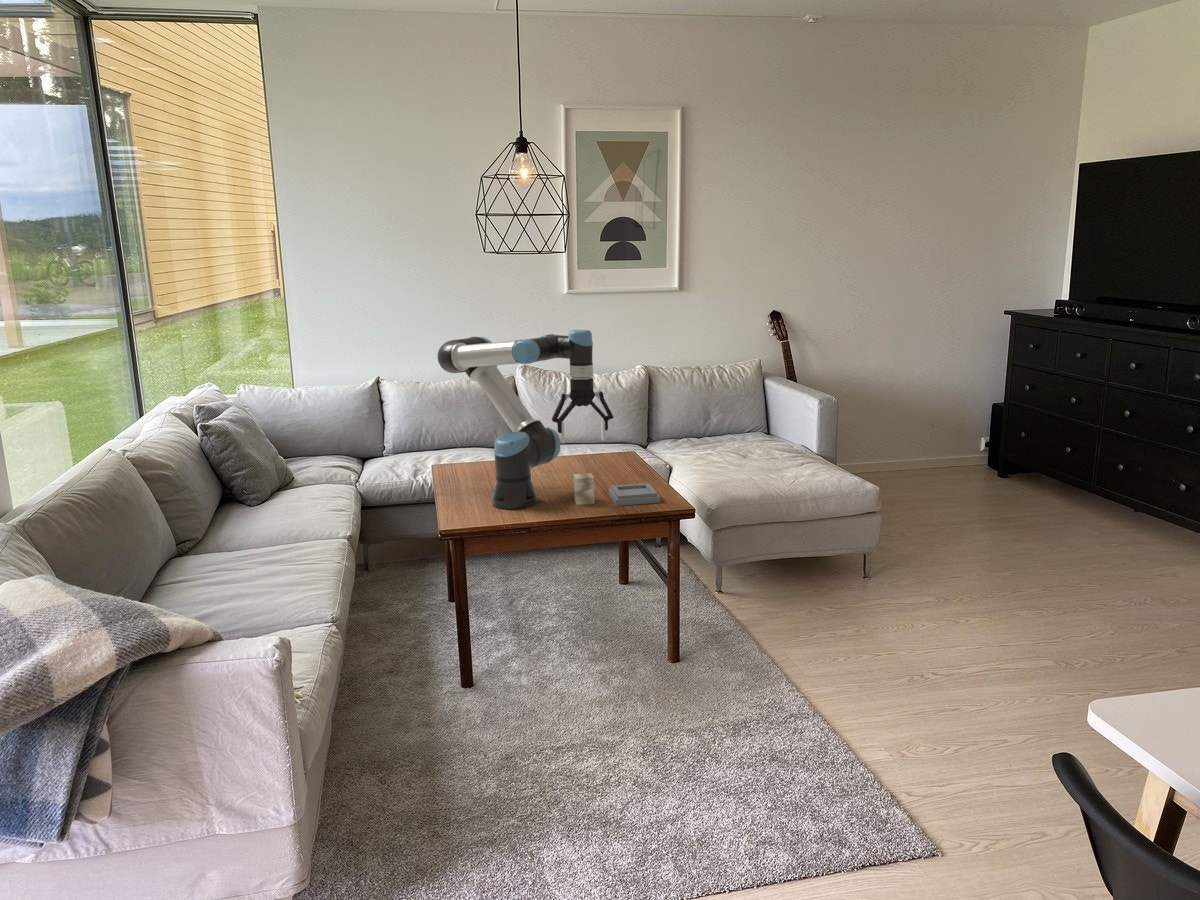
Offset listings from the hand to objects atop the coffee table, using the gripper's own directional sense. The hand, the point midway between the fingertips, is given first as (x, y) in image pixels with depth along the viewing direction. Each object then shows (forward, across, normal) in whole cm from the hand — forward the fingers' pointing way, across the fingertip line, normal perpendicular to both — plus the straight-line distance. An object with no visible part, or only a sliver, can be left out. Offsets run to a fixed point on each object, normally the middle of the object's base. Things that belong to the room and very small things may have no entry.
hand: (583, 441), depth 290 cm
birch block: (+21, 0, -1) cm, 21 cm away
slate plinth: (+20, +17, -2) cm, 26 cm away
